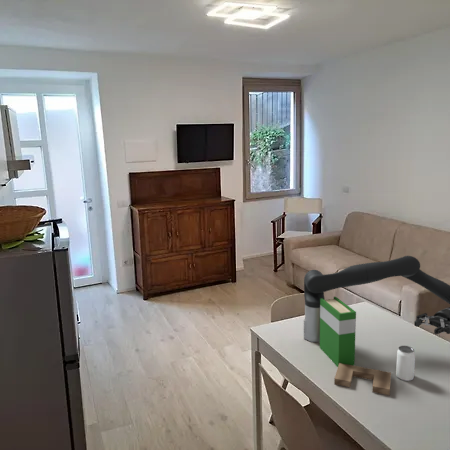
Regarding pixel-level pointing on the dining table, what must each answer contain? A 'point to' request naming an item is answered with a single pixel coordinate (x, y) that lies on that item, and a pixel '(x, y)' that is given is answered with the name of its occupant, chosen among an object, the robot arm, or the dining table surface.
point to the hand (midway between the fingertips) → (425, 327)
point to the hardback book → (337, 331)
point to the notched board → (349, 371)
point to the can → (405, 363)
